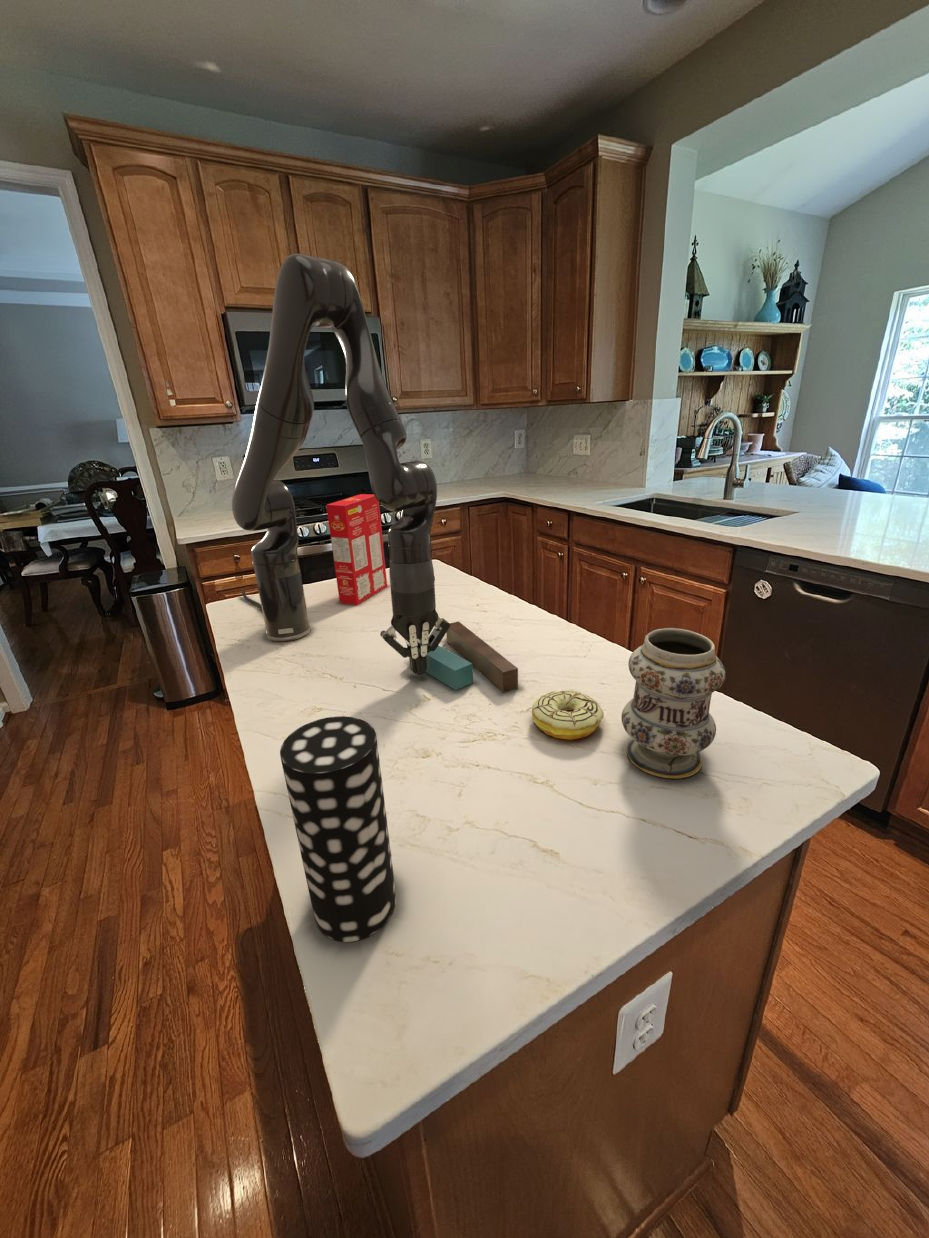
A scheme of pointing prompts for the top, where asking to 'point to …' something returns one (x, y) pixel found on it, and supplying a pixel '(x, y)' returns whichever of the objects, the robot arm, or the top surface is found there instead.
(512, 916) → the top surface
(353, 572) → the food packaging
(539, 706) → the decorated donut
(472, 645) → the walnut rail
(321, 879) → the spotted tube
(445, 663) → the teal bar
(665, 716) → the apothecary jar
